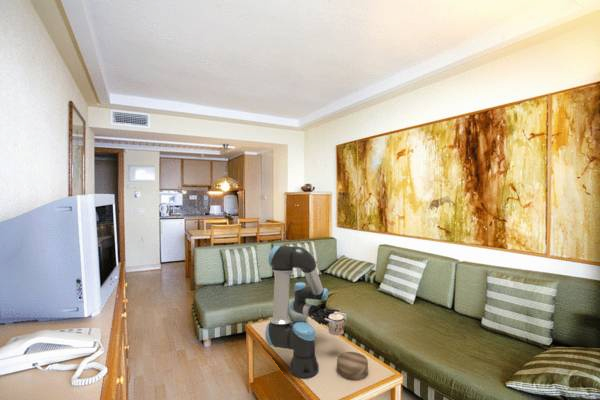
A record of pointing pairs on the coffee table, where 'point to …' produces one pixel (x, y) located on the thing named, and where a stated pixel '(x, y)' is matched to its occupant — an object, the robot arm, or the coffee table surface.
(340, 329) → the teacup with lid
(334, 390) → the coffee table surface
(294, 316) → the decorative ball
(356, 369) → the walnut riser
